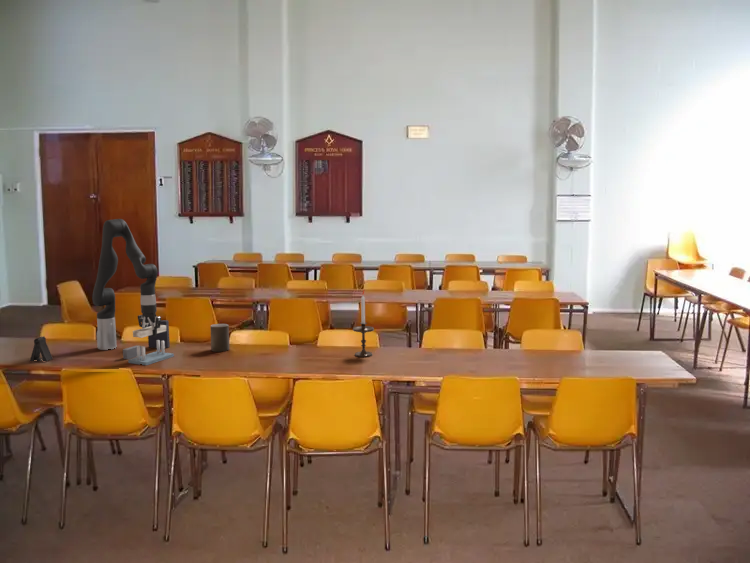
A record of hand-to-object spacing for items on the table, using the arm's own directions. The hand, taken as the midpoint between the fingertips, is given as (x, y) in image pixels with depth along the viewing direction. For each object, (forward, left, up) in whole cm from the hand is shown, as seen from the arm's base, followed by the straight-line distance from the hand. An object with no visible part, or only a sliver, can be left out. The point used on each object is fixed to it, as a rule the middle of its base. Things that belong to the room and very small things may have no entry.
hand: (150, 335), depth 374 cm
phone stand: (-51, -25, -13) cm, 58 cm away
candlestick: (+95, +54, -13) cm, 110 cm away
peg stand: (0, 0, -13) cm, 13 cm away
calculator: (-16, +23, -13) cm, 31 cm away
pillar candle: (+19, +32, -13) cm, 39 cm away
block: (-13, 0, -13) cm, 18 cm away
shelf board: (0, 0, +1) cm, 1 cm away
